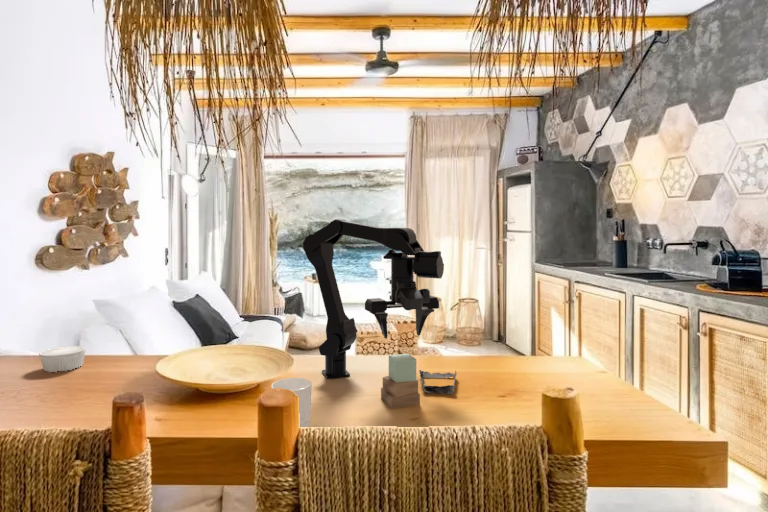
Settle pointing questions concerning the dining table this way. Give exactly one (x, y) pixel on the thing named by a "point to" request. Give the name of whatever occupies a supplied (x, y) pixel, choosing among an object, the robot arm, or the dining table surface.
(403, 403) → the slab base
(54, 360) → the ramekin
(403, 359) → the sage cube
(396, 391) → the slab top
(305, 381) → the white cup
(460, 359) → the dining table surface
